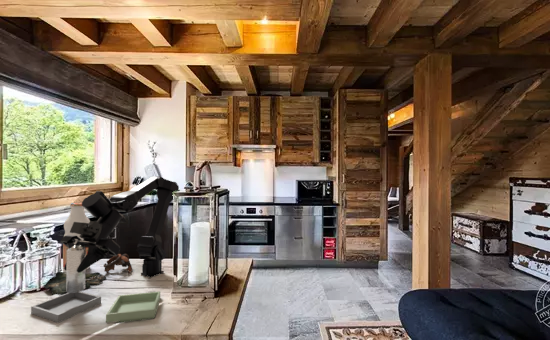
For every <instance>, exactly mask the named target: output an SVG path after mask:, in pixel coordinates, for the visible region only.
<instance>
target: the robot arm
mask: <svg viewBox="0 0 550 340" xmlns="http://www.w3.org/2000/svg"><path fill="white" fill-rule="evenodd" d="M179 188H180V187H179V185H178V183H177V182H176V181H172V180H169V179H167V178H164V177H161V176H153V175H152V176H150V177H149V178H148V179H147V180H145V181H143V182H141V183H140V184H138V185H136V186H134V187H133V188H131V189H130V190H126V191H123V192H119V193H116V194H114V195H112V196H111V197H110V198H108V197H107V196H106V195H105V193H104V192H103V191H102V190H96V192H95V193H92V194H91V195H88V196H86V197H85V198H84V199H83V200H82V202H81V203H82V206H83V207H84V209H85V211H87V212H88V213H89V214H90V215H92V217H94V218H96V219H97V221H96V220H95V221H92V220H90V222H89V223H82V222H74V223H73V225H72V227H71V230H70V233H77V234H81V235H80V237H81V238H83V239H84V240H83V241H82V240H81V239H80V238H79V237H77V236H74V235H66V236H64V235H63V237H62V238H61V240H59V241H60V243H61V244H62V245H63V244H64V245H65V246H67V247H68V248H69V249H70V248H71V247H72V246H83V247H86V248H88V253H87V255H86V256H85V258H84V259H83V261H82V262H81V264H80V265H79V267H78V269H77V272H79V273H80V272H82V271H83V270H85V269H86V268H88V267H89V266H90V267H91V266H92V265H94V264H96V263H98V262H99V261H100V260H101V261H102V259H105V258H108V255H109V256H112V257H113V256H117V255H118V254H120V252H121V246H120V245H119V244H118V243H117V242H116V241H114V240H113V239H112V238H111V237H113V236H114V235H115V234H114V233H113V231H114V230H115V228H116V227H117V226H118V224H119V223H126V221H127V219H126V216H125V214H122V213H120V212H126V213H127V212H128V213H129V212H131V211H133V210H134V209H135V208H136V207H137V205H138V204H139V201H140V200H141V199H143V198H144V197H146V196H147V195H149V194H150V193H152V192H153V191H156V196H157V197H156V198H157V202H156V206H155V209H154V212H153V215H152V218H151V221H150V224H149V227H148V231H147V233H145V235H141V236H140V237H139V241H138V243H137V245H136V246H137V249H136V251H137V252H138V253H137V254H138V257H139V259H140V260H142V264H141V265H142V271H141V272H140V275H141V276H145V277H147V278H153V277H156V276H158V275H162V274H163V273H165V271H164V270H163V269H162V267H163V265H162V261H163V260H164V259H165V258H166V255H167V252H166V251H165V250H164V249H163V248H162V244H163V241H162V237H161V236H162V235H161V234H162V231H163V228H164V225H165V220H166V217H167V214H168V211H169V207H170V204H171V202H172V201H173V200H174V199H173V196H172V192H173V191H175V190H178V191H179V190H180V189H179ZM109 237H110V238H109ZM66 267H67V261H66V264H65V267H64V270H66ZM90 267H89V268H90ZM89 268H88V269H89ZM85 271H86V270H85Z"/></svg>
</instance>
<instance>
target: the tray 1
mask: <svg viewBox="0 0 550 340" xmlns="http://www.w3.org/2000/svg"><path fill="white" fill-rule="evenodd" d="M100 304H102V296H101V295H97V294H94V293H93V294H92V293H89V292H84V291H79V292H75V293H67V292H65V293H63V294H62V295H58V296H56V297H53V298H51V299H48V300H45V301H42V302H40V303H37V304H34V305H31V306H30V314H31V315H33V316H37V317H40V318H43V319H46V320H49V321H52V322H54V323H58V324H59V323H60V322H62V321H65V320H68V319H69V318H72V317H74V316H76V315H78V314H80V313H83V312H85V311H87V310H89V309H92V308H94V307H97V306H98V305H100Z"/></svg>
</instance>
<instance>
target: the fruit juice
mask: <svg viewBox="0 0 550 340" xmlns="http://www.w3.org/2000/svg"><path fill="white" fill-rule="evenodd" d="M70 208H71V209H70V213H69V216H68V217H67V218H66V220H65V221H64V224H63V229H64V235H63V237H64V236H66V235H74V236H77V237H79V238H80V239H81V240H82V241H83V240H84V239H83V238H81V237H80V235H81V234H77V233H70V230H71V227H72V225H73V223H74V222H82V223H89V222H90V221H91V220H90V218H88V216H87V214H86V213H85V212H86V211H85V210H84V209H85V208H84V207H83V206H82V202H71V203H70ZM85 248H86V247H85ZM68 249H69V248H68V247H67V246H65V245H64V244H63V243H62V272H63V273H66V270H64V267H65V264H66V261H67V250H68ZM87 253H88V248H86V255H87ZM90 267H91V266H89V267H88V268H86V269H85V271H87V270H88V269H90Z"/></svg>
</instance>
